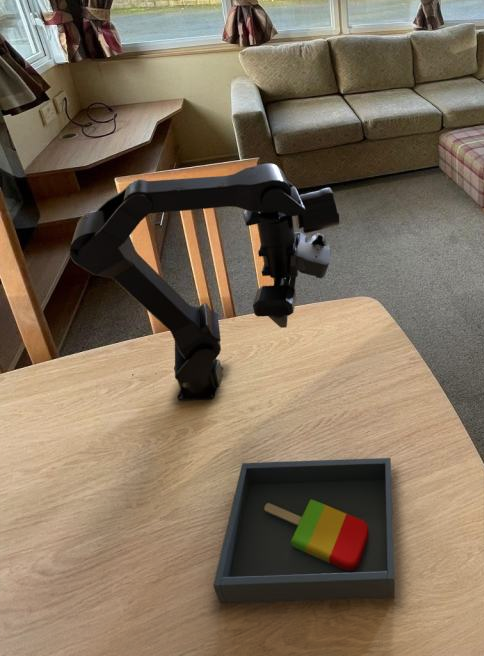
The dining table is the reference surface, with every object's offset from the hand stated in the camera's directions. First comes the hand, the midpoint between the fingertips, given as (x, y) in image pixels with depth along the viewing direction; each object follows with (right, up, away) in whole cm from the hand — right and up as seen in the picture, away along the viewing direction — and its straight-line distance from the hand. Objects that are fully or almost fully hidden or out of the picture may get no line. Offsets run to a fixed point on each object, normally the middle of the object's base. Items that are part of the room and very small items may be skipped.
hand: (287, 307), depth 88 cm
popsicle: (+8, -23, -22) cm, 33 cm away
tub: (+8, -24, -22) cm, 33 cm away
